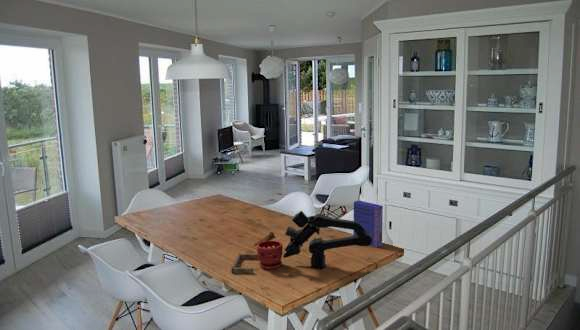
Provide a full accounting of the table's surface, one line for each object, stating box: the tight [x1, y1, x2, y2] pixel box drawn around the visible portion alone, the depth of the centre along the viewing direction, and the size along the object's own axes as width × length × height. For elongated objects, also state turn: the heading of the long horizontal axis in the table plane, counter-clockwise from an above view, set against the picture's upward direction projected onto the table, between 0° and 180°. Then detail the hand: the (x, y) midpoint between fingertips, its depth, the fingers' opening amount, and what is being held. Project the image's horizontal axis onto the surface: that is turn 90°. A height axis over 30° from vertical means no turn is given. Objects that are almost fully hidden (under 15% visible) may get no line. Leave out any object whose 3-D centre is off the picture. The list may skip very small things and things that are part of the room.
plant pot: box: [256, 240, 283, 270], centre depth 241 cm, size 13×13×12 cm
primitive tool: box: [253, 231, 275, 247], centre depth 281 cm, size 19×6×4 cm, turn 157°
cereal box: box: [353, 200, 384, 249], centre depth 271 cm, size 17×5×24 cm, turn 41°
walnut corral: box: [231, 253, 259, 275], centre depth 243 cm, size 11×20×2 cm, turn 176°
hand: (284, 253), depth 240 cm, fingers open, 9 cm apart
